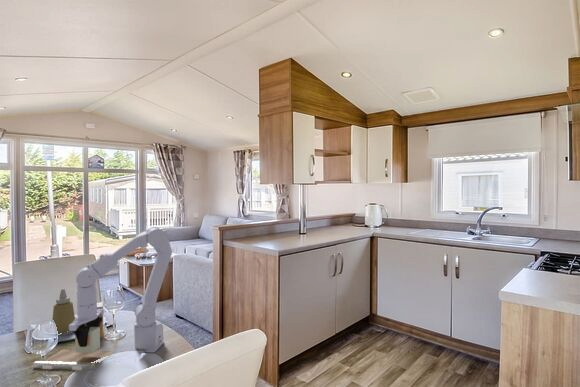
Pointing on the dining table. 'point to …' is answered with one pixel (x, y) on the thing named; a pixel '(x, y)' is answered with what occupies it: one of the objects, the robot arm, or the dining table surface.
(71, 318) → the squeeze bottle
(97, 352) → the shelf board
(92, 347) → the carton
